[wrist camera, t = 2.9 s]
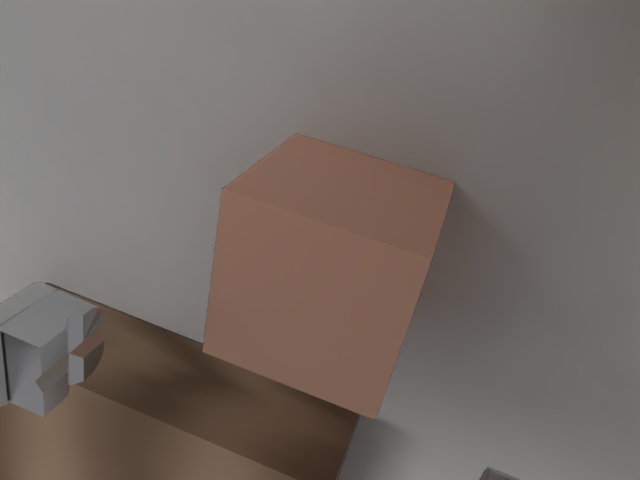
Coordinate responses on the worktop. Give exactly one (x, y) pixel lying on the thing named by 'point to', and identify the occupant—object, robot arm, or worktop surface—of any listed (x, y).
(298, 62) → the worktop surface
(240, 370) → the walnut plinth
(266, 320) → the terracotta block
